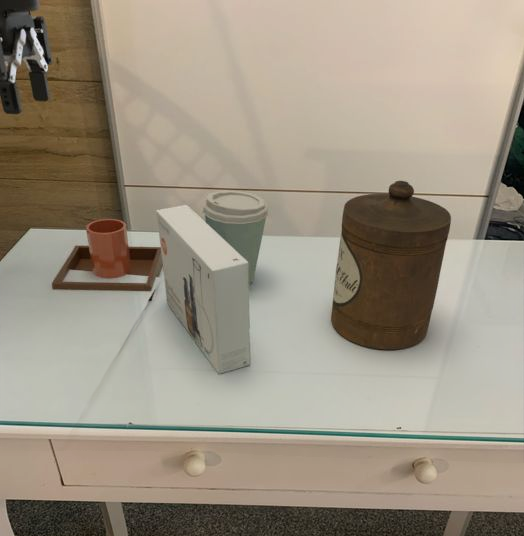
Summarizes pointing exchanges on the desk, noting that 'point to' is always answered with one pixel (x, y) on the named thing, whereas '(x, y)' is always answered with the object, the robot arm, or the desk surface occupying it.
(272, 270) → the desk surface
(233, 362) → the skincare box
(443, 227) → the wooden container
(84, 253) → the tray
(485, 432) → the desk surface
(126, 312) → the desk surface
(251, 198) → the disposable coffee cup
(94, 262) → the cup
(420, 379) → the desk surface
